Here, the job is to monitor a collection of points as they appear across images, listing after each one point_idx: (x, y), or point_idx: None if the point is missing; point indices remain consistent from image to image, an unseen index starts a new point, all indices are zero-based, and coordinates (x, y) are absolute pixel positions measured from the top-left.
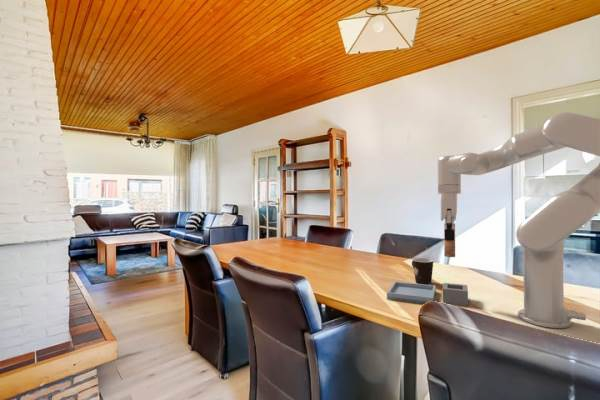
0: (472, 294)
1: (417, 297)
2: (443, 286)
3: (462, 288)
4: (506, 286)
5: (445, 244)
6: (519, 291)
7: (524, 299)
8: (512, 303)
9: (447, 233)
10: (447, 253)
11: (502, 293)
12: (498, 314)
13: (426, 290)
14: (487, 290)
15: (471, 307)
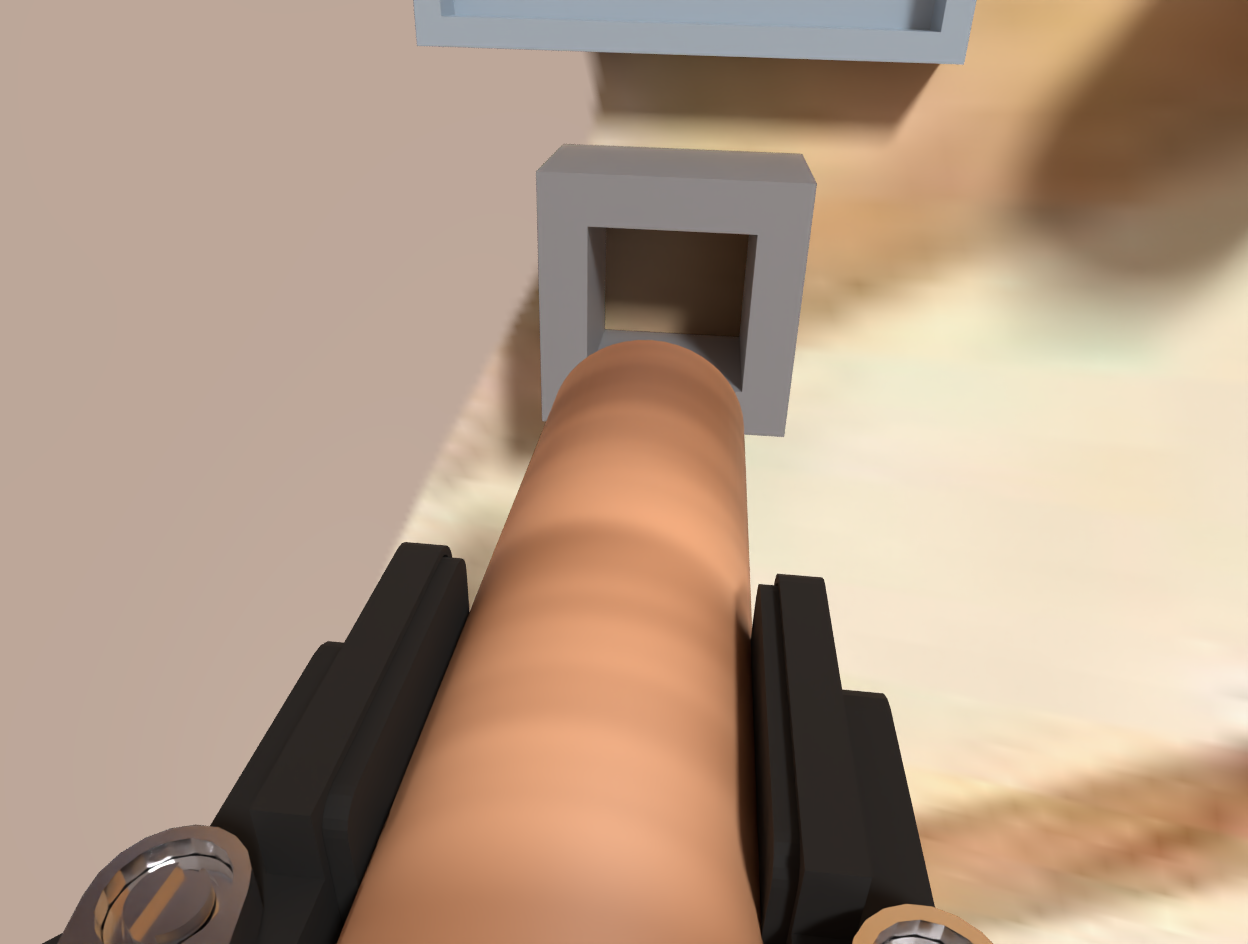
0: (920, 431)
1: None
2: (636, 183)
3: (742, 377)
4: (1237, 717)
5: (535, 483)
6: (1082, 761)
7: None
8: None
9: (267, 756)
10: (547, 419)
11: (1002, 651)
12: (453, 536)
13: None
14: (1082, 565)
15: (528, 384)
